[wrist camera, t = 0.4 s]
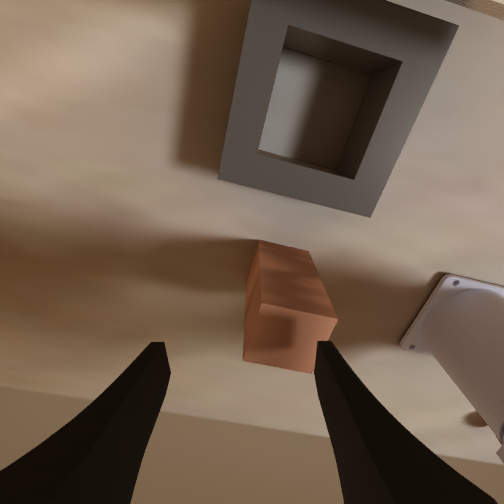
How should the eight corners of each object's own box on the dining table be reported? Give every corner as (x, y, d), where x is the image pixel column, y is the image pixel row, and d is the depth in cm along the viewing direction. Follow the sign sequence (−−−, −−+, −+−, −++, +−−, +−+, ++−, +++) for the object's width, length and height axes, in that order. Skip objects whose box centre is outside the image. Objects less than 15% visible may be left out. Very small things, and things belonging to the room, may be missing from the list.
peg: (308, 251, 20) (338, 319, 13) (292, 293, 22) (311, 373, 15) (258, 239, 20) (261, 303, 13) (246, 283, 22) (242, 360, 14)
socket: (415, 47, 15) (459, 25, 12) (350, 202, 19) (370, 217, 16) (258, -5, 14) (259, -43, 11) (223, 169, 18) (217, 178, 15)
